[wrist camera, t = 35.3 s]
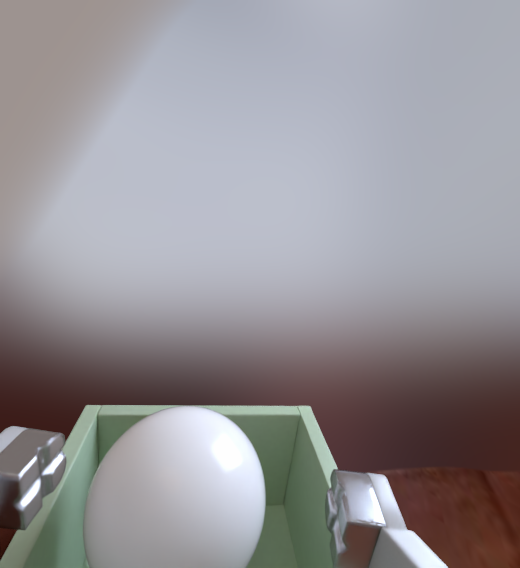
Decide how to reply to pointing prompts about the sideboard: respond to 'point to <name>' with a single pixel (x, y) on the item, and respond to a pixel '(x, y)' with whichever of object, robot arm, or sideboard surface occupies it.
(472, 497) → the sideboard surface
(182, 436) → the lightbulb
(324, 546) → the bin
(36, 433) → the robot arm
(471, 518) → the sideboard surface
